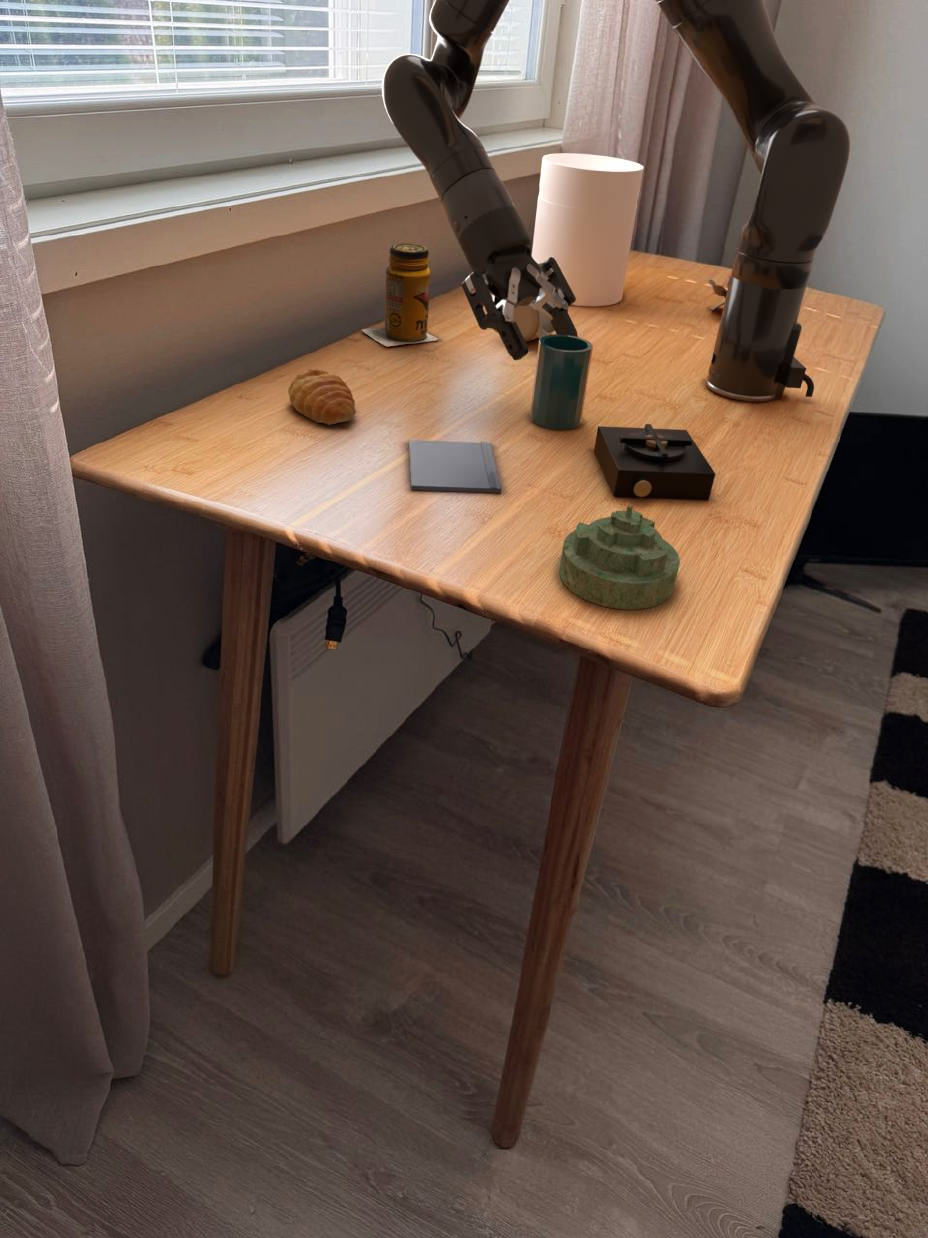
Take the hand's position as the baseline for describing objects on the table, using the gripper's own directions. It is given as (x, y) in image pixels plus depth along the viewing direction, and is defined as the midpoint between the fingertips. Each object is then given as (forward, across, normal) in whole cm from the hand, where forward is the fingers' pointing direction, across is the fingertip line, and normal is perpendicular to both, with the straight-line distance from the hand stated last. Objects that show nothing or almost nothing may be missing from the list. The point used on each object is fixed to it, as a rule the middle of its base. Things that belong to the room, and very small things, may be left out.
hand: (547, 350), depth 107 cm
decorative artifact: (+26, -22, -15) cm, 38 cm away
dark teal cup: (+7, 0, +4) cm, 8 cm away
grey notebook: (+9, -19, +2) cm, 21 cm away
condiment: (-16, +4, +27) cm, 32 cm away
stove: (+18, -3, -8) cm, 20 cm away
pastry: (-5, -21, +16) cm, 27 cm away
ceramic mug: (-8, +21, +19) cm, 29 cm away
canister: (-18, +45, +29) cm, 56 cm away
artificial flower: (+1, +53, +10) cm, 54 cm away
